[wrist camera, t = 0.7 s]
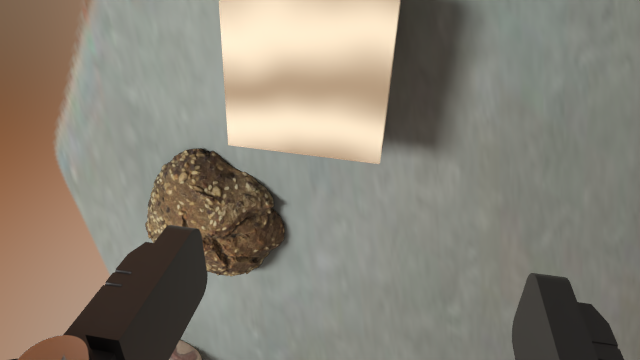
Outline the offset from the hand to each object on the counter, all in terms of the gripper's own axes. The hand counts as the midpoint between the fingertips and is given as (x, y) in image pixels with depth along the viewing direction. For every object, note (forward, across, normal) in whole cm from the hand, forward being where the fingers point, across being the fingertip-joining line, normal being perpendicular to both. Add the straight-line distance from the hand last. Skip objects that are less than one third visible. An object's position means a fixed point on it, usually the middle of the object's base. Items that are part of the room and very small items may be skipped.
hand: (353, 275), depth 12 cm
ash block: (+25, +6, +3) cm, 26 cm away
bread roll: (+26, +15, +18) cm, 35 cm away
